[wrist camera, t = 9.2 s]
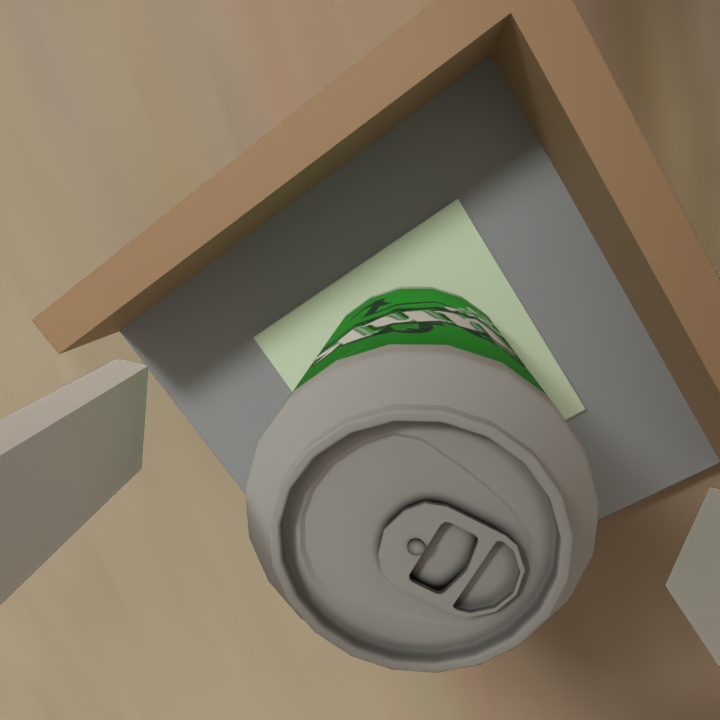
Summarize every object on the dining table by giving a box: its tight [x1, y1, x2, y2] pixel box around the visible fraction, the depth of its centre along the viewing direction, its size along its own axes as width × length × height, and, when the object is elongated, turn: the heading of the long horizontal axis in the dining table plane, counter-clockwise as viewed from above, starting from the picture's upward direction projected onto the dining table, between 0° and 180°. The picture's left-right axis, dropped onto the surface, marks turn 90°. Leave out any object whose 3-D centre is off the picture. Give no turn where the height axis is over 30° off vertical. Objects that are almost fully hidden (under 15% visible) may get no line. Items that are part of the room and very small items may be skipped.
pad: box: [253, 199, 585, 420], centre depth 22 cm, size 10×10×1 cm
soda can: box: [245, 287, 599, 673], centre depth 16 cm, size 8×8×12 cm
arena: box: [32, 0, 720, 521], centre depth 20 cm, size 20×20×5 cm
